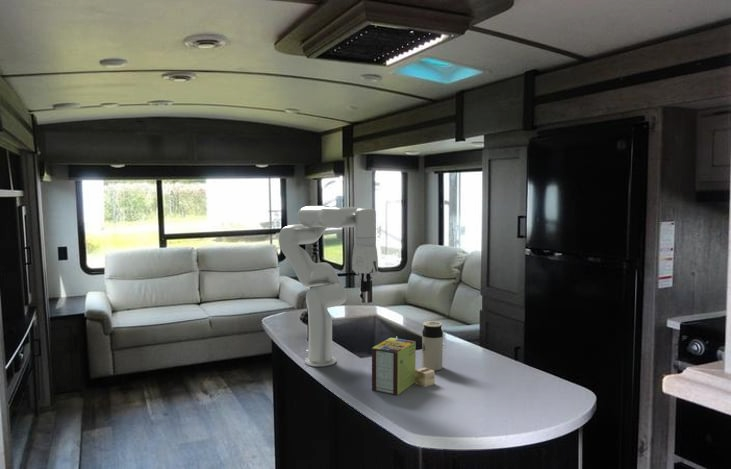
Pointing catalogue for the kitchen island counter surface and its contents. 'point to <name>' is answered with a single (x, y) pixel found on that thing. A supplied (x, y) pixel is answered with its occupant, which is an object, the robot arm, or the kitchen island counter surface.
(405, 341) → the protein box
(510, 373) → the kitchen island counter surface
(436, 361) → the travel mug
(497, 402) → the kitchen island counter surface
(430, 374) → the slotted oak block
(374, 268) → the robot arm
